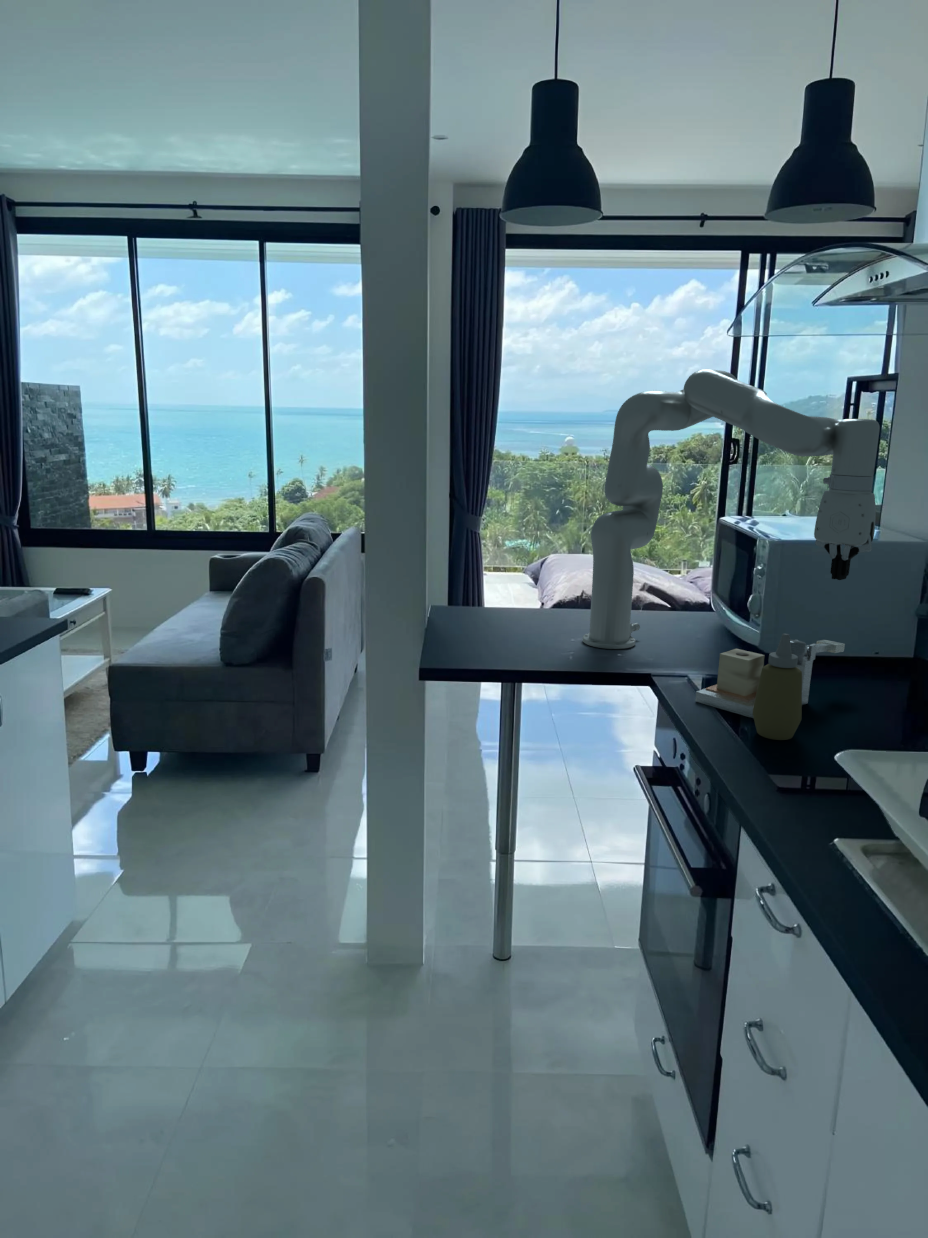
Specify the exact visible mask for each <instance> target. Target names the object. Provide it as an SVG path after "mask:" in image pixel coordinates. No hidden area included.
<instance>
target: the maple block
mask: <svg viewBox="0 0 928 1238" xmlns="http://www.w3.org/2000/svg"><path fill="white" fill-rule="evenodd" d="M765 657H766V656H765V654H762V653H757V652H753V651H747V650H744V649H739V648H733V649H731V650H728V651H724V652H721V653H719V658H718V659H719V661H718V670H717V671H718V672H717V680H716V684H717V689H720V690H724V691H728V692H731V693H735V694H739V695H742V696H747V695H749V694H752V693H754V692H757V689H758V684H759V680H760V675H761V670H762V667H764V666H765Z"/></svg>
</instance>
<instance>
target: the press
mask: <svg viewBox="0 0 928 1238" xmlns="http://www.w3.org/2000/svg"><path fill="white" fill-rule="evenodd" d="M796 640H797V641H800V640H798V639H796ZM808 645H809V648H808V656H807V657H806V656H804V658H803V664H802V665H797V666H796V667H797V668H799V669H800V670H801V671H802V706H804V705H806V704H808V702H809V695H810V688H811V687H810V686H811V685H810V684H811V678H812V670H813V663H814V660H816V654H817V653H816V647H817V644H816V643H811V644H808ZM756 693H757V692H754V693H752V694H749V695H747V696H742V695H739V694H735V693H731V692H728V691H724V690H720V689H717V683H716V684H714V685H711V686H708V687H706V688H705V687H704V688H702V689H700V690H697V691H695V699H694V700H695V701H694V702H696V703H700V704H702V705H703V704H704V705H706V706H710V707H713V708H717V709H720V710H724V711H727V712H730V713H734V714H737V715H741V716H743V717H748V718H750V719H751V718H752V719H754V717H753V707H754V702H755V698H756Z"/></svg>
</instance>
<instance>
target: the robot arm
mask: <svg viewBox="0 0 928 1238" xmlns="http://www.w3.org/2000/svg"><path fill="white" fill-rule="evenodd" d="M712 418H716V419H718V420H720V421H722V422H725V423H727V424H728V425H732V426H734V427H736V428H738V429H741V430H743V431H744V432H745V433H747V434H748V435H751V436H752V437H754V438H756V439H757V440H759V441H761V442H763V443H765V444H767V445H770V446H772V447H773V448H777V449H779V450H781V451H784V452H786V453H788V454H790V455H793V456H797V457H802V458H803V457H820V456H821V457H822V456H831V455H832V462H831V469H830V470H831V471H830V474H829V476H825V477H823V484H825V485H828V487H827V488H829V489H828V490H827V489H826V490H824V491H823V493H822V497H821V500H820V504H819V507H818V510H817V513H816V514H817V515H816V520H815V524H814V530H813V537H814V539H815V542H814V544H815V545H816V546H817V547H819V548H822V549H824V550H826V552H827V554H829V557H830V558H831V563H830V572H829V573H830V574H831V580H837V581H843V580H846V579H847V577H848V576H849V574H850V568H851V562H852V561H851V560H852V559H854V558H855V556H857V555H858V554H861V553H869V552H871V551H873V546H872V545H873V544H872V542H873V541H874V537H875V530H876V517H877V515H876V512H877V508H876V507H877V506H876V494H875V493H874V492H873V493H872V490H873V483H874V473H875V466H876V458H877V451H878V444H879V435H880V428H881V427H880V424H879V422H878V421H877V420H875V419H869V418H845V419H838V418H832V417H825V416H812V415H811V416H808V415H805V414H803V413H800V412H797V411H795V410H792V409H791V408H787V407H785V406H783V405H781V404H778V403H776V402H774V401H773V400H771V399H770V398H769V396H768V393H767V392H766V391H765V390H764V389H761V388H758V387H756V386H753V385H751V384H748V383H745V382H743V381H740V380H738V379H737V378H736V376H735V375H733V374H732V373H731V372H728V371H724V370H718V369H709V368H705V369H700V370H699V369H698V370H697V371H694V372H693V373H691V375H689V376H688V378H687V379H686V381H685V382H684V385H683V388H682V389H681V390H678V391H675V392H674V391H666V390H665V391H664V390H645V391H642V392H639V393H636V394H633V395H632V396H630V397H629V398H627V399H626V400H625V401H624V402H623V403H622V405H621V406H620V407H619V409H618V411H617V413H616V417H615V422H614V427H613V429H614V430H613V436H612V437H613V438H612V445H611V450H610V455H609V459H608V460H609V461H608V466H607V472H606V476H605V477H606V478H605V483H604V484H605V485H604V494H605V497H606V499H607V501H608V502H609V503H611V504H612V505H614V506H618V507H622V509H620V510H613V511H609V512H605V513H603V514H601V515H600V516H599V517H597V519H596V520H595V521H594V523H593V525H592V527H591V533H590V539H591V548H592V581H591V582H592V583H591V597H590V600H591V601H590V617H589V632H588V633H585V634H584V635H582V642H583V643H584V644H585V645H588V646H591V647H594V648H600V649H608V650H624V649H629V648H632V647H634V646H635V645H636V638H635V637H633V636H632V633H633V632H637V631H640V629H641V625H640V623H639V622H635V623H631V620H632V619H631V618H632V616H631V615H632V603H633V602H632V601H633V587H634V575H635V574H634V573H635V572H634V571H635V570H634V568H635V567H634V561H633V557H632V552H631V550H632V551H633V550H637V549H640V548H643V547H645V546H646V545H648V544H649V543H650V541H651V540H652V539H653V537H654V535H655V532H656V528H657V523H658V518H659V513H660V508H661V503H662V499H663V493H664V492H663V490H664V485H663V479H662V476H661V474H660V472H659V470H658V469H657V468H655V467H654V466H653V465H650V464H648V459H649V455H650V451H651V447H650V445H651V444H650V436H649V433H650V432H653V431H663V432H664V431H665V432H666V431H667V432H669V431H671V432H672V431H673V432H674V431H681V430H684V429H688V428H689V427H690V428H691V427H692V426H694V425H697V424H699V423H702V422H704V421H707V420H709V419H712ZM842 545H844V548H843V547H842Z"/></svg>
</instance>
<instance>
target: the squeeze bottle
mask: <svg viewBox="0 0 928 1238" xmlns="http://www.w3.org/2000/svg"><path fill="white" fill-rule="evenodd" d="M790 640H791V636H790V634H789V633H782V634H781V637H780V640H779V642H778V645H777V649H776V651H773V652H770V653H769V655H768V663H767V664H766V665H765V664H764V666H763V667H762V670H761V675H760V680H759V684H758V689H757V693H756V698H755V702H754V707H753V717H754V718H753V720H754V721H753V722H754V725H755V729H756V734H758V735H759V736H761V737H762V738H766V739H769V740H777V741H785V740H791V739H793V737H794V736H795V733H796V732H797V729H798V728H799V725H800V724H801V721H802V714H803V713H802V709H803V708H802V707H803V705H802V671H801V670H800V669H799V668H797V667H796V666H797V662H798V656H796V655H794V654H792V652H791V643H790Z"/></svg>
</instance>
